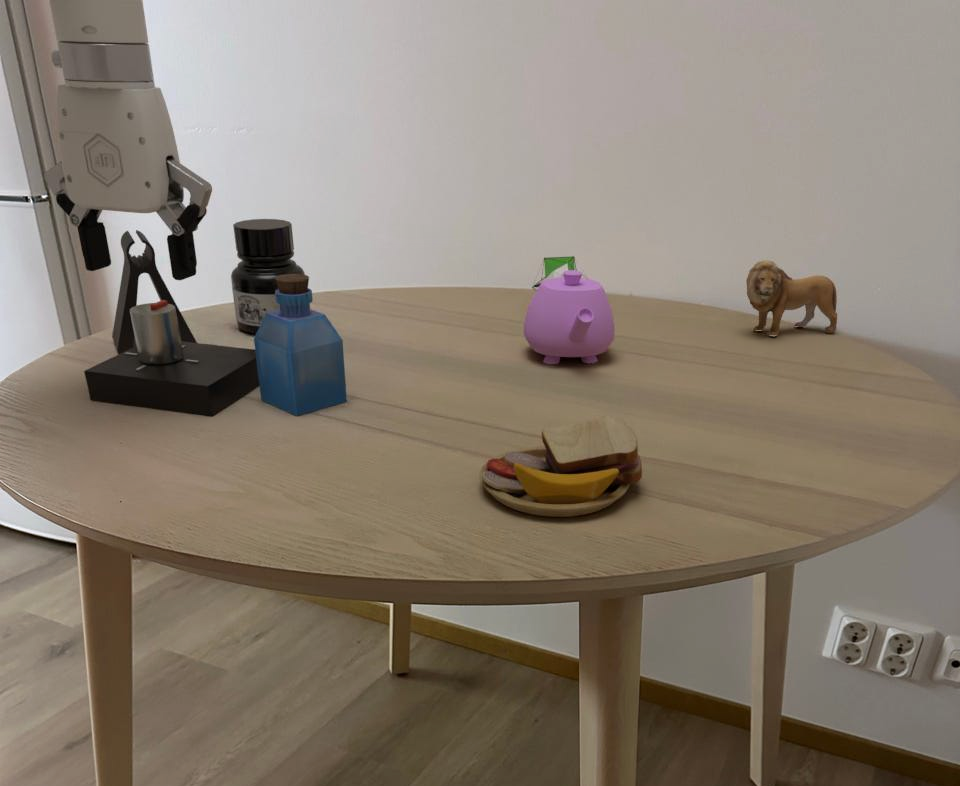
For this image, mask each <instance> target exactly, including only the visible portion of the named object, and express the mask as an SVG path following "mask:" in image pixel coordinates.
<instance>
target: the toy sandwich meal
mask: <svg viewBox="0 0 960 786" xmlns="http://www.w3.org/2000/svg"><path fill="white" fill-rule="evenodd" d="M541 440H542V443H543V445H544V446H543V445H542V446H540V445H539V446H530V447H522V448H516V449H512V450H509V451H504V452H503V453H500V454H498V455H495V456H493V457H492V458H490V459H488V460H487V461H486V462H485V463H484V464H483V465H482V467H481V468H480V470H479V474H478V475H479V481H480V484H481V485H482V486H483V488H485V490H486V491H487V492H488V493H489V494H491V496H492V497H493V498H494V499H495V500H496V501H498V502H499V503H500V504H501V505H504V506H506V507H507V508H510V509H513V510H515V511H518V512H522V513H525V514H529V515H533V516H539V517H540V516H541V517H550V518H570V517H579V515H580V516H585V514H586V515H590V514H593V512H594V513H596V511H597V512H599V510H600V511H601V509H602V510H604V509H606V508H608V507H609V506H611V505H612V504H613V503H614V502H615V501H617V500H619V499H620V498H622V496H624V495H625V494H626V492H627V491H628V489H629V487H630V484H636V483H638V482H640V481H641V480H642V477H643V465H642V464H643V463H642V460H641V456H640V455H639V453H638V450H639V448H638V447H639V445H638V438H637V435H636V433H635V431H634V430H633V428H631V426H629V425H628V423H626V422H625V421H623V420H621V419H620V418H618V417H615V416H612V415H604V416H602V417H600V418H598V419H597V418H596V419H592V420H588V421H582V422H577V423H571V424H565V425H560V426H555V427H549V428H545V429H542V430H541ZM607 506H608V507H607ZM603 508H604V509H603ZM589 513H590V514H589Z"/></svg>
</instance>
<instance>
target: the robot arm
mask: <svg viewBox="0 0 960 786" xmlns="http://www.w3.org/2000/svg"><path fill="white" fill-rule="evenodd" d="M48 1H49V6H50V12H51V16H52V17H51V18H52V22H53V28H54V33H55V38H56V41H57V42H56V43H57V48H58V50H53V51H52V53H51V62H52V64H53V65H54V67H55V68H57V69H62V74H63V79H64V80H63V81H64V84H58V85H57V89H56V90H57V92H56V118H57V120H56V121H57V131H58V141H59V142H58V143H59V150H60V151H59V152H60V157H61V158H60V159H61V160H60V161H59V162H58V163H57V164H55V165H54V166H52V167H51V168H49V169H48V170H46V171H45V172H44V174H43V178H44V180H45V182H46V183H47V186H48V187H49V189H50V190H51V192H52V194H53V196H55V200H56V203H57V205H58V206H59V207H60V208H61V210H62V211H64V213H65V214H66V215H67V216H68V220H69V222H70V224H71V225H72V226H73V227H77V232H78V238H79V243H80V248H81V252H82V254H81V255H82V257H83V260H84V265H85V269H86V271H89V272H95V271H98V270H101V269H105V268H107V267H110V266H111V265H112V258H111V253H110V248H109V242H108V237H107V232H106V226H105V225H104V222H101V221H98V220H99V218H100V216H101V214H102V212H103V211H109V212H111V211H112V212H121V213H135V214H153V213H155V212H156V214H157V215H158V217H159V218H160V219H161V220H162V222H163V223H164V224H165V225H166V226H167V228H168V229H169V230H170V232H171V234H168V235H167V236H166V243H167V248H168V250H167V251H168V255H169V256H168V257H169V264H170V270H171V276H172V278H173V279H174V281H182V280H186V279H188V278H191V277H193V276H196V275H197V264H198V260H197V254H196V246H195V239H194V232H196V231H197V230H198V228H199V224H200V223H201V221H202V220H203V219H204V217H205V216H206V215H207V212H208V211H207V207H208V206H209V202H210V199H211V197H212V193H213V186H212V184H211V183H210V182H209V181H207V180H206V179H204V178H203V177H201V176H200V175H198V174H196V173H195V172H194V171H192V170H191V169H189V168H188V167H187V166H186V165H184V164H182V163H181V161H180V160H181V159H180V155H179V150H178V146H177V145H178V144H177V141H176V136H175V132H174V127H173V124H172V120H171V116H170V113H169V110H168V106H167V103H166V100H165V97H164V93H163V91H162V89H161V87H157V86H156V85H155V84H156V83H155V78H154V71H153V63H152V57H151V56H152V55H151V50H150V45H149V37H148V30H147V22H146V15H145V9H144V2H143V0H48ZM184 189H186V190H187V191H188V192H189V195H190V197H189V203H188V205H187V206H185V204H184V203H183V202H184V199H185V192H184V191H185V190H184Z"/></svg>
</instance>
